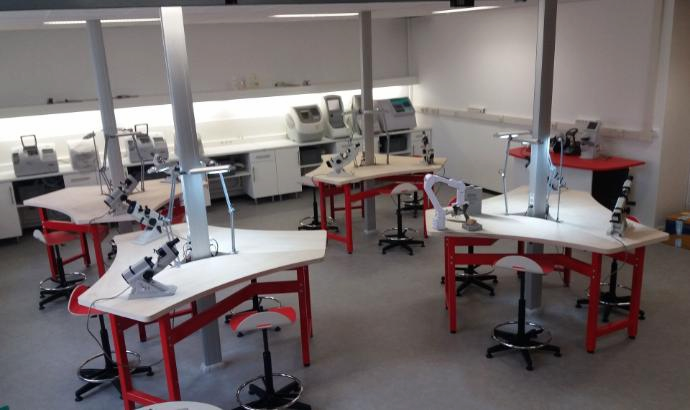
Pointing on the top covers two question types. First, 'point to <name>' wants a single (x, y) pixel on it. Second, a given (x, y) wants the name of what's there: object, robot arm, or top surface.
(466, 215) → the gun
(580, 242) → the top surface
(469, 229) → the tray
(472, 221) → the walnut block
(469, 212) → the grey upright panel
